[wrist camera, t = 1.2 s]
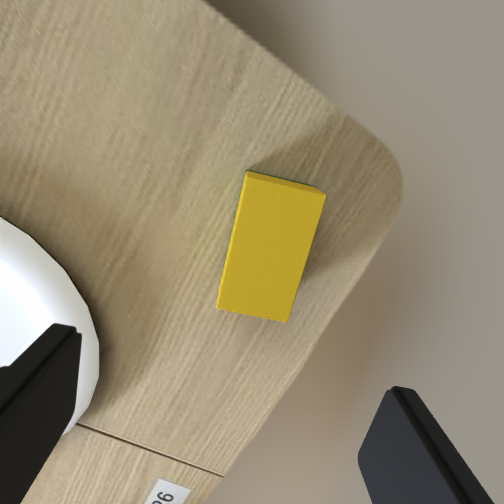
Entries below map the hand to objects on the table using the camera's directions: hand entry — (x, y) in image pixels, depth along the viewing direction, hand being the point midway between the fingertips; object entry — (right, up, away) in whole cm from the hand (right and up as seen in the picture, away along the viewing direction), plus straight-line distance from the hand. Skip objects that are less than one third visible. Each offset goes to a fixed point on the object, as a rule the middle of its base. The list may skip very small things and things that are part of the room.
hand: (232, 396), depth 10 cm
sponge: (+2, +6, +15) cm, 17 cm away
